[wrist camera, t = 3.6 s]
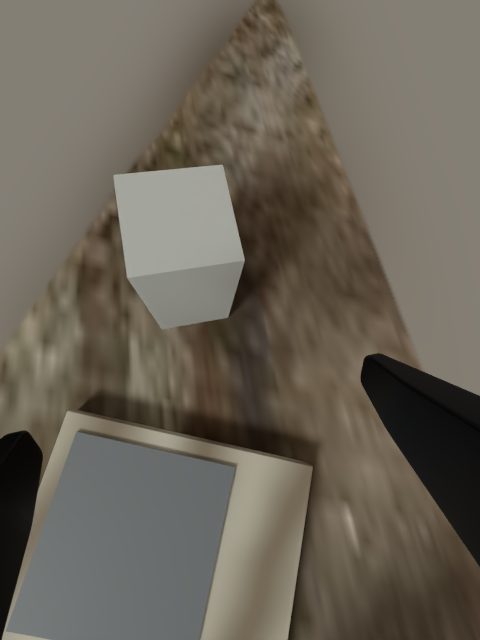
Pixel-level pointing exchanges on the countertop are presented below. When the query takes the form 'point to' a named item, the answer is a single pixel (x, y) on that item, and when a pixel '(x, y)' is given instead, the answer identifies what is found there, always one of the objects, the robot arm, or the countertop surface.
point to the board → (159, 538)
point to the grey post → (180, 242)
